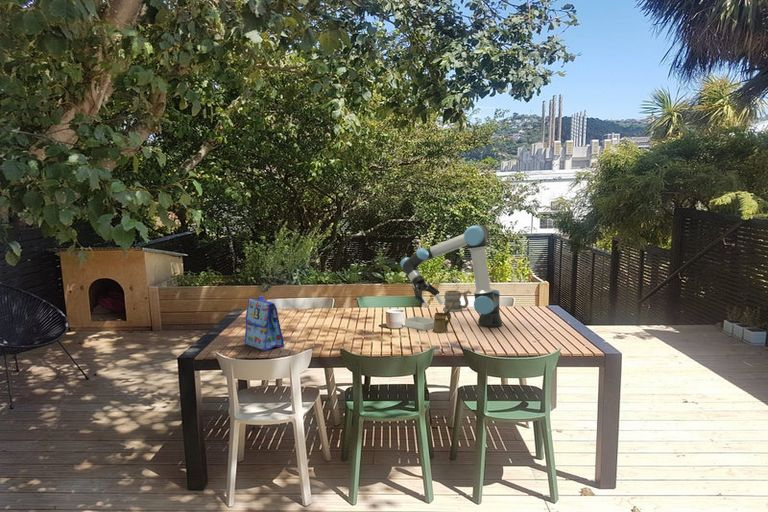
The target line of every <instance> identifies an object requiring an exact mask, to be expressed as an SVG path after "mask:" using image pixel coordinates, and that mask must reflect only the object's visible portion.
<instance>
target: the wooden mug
mask: <svg viewBox="0 0 768 512" xmlns="http://www.w3.org/2000/svg"><path fill="white" fill-rule="evenodd" d="M454 304H455V303H452V304H451V306H450V307H449V309H448V310H447V312H446V311H443V312H436V313H434V317H433V319H434V328H433V329H432V332H433V333H435V334H436V333H437V334H444V333H447V332H448V331H449V329H448V325H449V323H450V322H451V319H452V314H451V312H449V311H450V310H451V308H452V307H453V306H454ZM446 318H447V319H446Z"/></svg>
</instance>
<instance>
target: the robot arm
mask: <svg viewBox="0 0 768 512" xmlns="http://www.w3.org/2000/svg"><path fill="white" fill-rule="evenodd" d="M488 237H489V230H488V228H487V227H486V226H484V225H482V224H475V225H471V226H469V227H468V228H466V230H465V231H464V233H462V234H460V235H458V236H454V237H451V238H450V239H447V240H445V241H443V242H439V243H437V244H435V245H432V246H430V247H427V248H424V247H420V248H419V249H417V250H416V251H415V253H413V255H411V256H410V257H404V258H402V259H401V261H400V263H399V264H400V266H401V268H402V271H404V273H405V274H406V275H407V277H408V278H409V280H410V282H411V283H412V285H413V286H412V290H413V291H414V297H415V300H418V301H420V303H422V305H423V307H424V308H425V309H427V308H428V306H429V303H428V302H427V300H426V298H424V296H423V291H424V292H428V293H429V294H431V295H433V296H434V298H435V299H436V301H437V303H439V305H440V306H441V305H442V304H443V303H444V301H443V300H442V298H441V295H440V291H439V290H438V289H437V288H436V287H434V286H433V285H432V284H431V282H427V283H426V281H425V279H424V277H423V276H422V274H421V273H420V271H419V270H418V267H419V266H420V265H422V263H424V262H427V261H430V260H432V259H435V258H437V257H440V256H443V255H445V254H448V253H451V252H453V251H456V250H458V249H461V248H463V247H467V250H468V251H470V257H471V264H472V270H473V277H474V285H475V291H474V292H473V294H474V301H473V307H474V310H475V311H476V312H477V313H478V314H480V315H479V318H478V321H477V324H478V325H477V326H479V327H482V328H488V329H495V328H500V327H501V328H502V326H503V321H502V316H501V315H500V296H501V295H500V290H498V289H492V288H491V284H490V276H489V270H488V262H487V255H486V248H487V247H488V246H487V245H488V244H487V239H488Z"/></svg>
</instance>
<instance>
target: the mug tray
mask: <svg viewBox="0 0 768 512" xmlns="http://www.w3.org/2000/svg"><path fill="white" fill-rule="evenodd" d="M404 319H405V325H404V326H403V327H405V328H410V329H414V330H419V331H424V332H426V331H429V330H433V328H434V319H435V318H429V317H428V318H427V317H424V316H423V317H422V316H417V315H416V316H411V317H408V318H404Z"/></svg>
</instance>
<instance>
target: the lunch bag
mask: <svg viewBox="0 0 768 512" xmlns="http://www.w3.org/2000/svg"><path fill="white" fill-rule="evenodd" d="M244 334H245V335H244V345H247V346H250V347H253V348H255V349H258V350H261V351H264V352H267V351H269V350H271V349H273V348H275V347H277V348H284V347H285V343H284V336H283V332H282V329H281V324H280V320H279V313H278V308H277V306H276V304H275V303H274V302H271V301H269V300H265V298H264V295H258V296H257V299H256V298H248V299H247V307H246V313H245V332H244Z"/></svg>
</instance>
